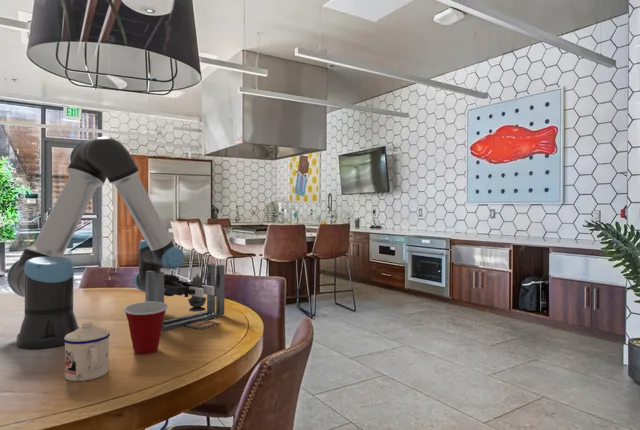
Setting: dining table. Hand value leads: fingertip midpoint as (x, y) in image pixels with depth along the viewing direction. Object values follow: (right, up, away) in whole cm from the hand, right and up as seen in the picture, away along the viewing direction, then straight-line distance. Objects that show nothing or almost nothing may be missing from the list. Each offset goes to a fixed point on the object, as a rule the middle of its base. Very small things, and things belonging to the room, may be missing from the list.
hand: (207, 291), depth 136 cm
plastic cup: (-10, -11, -25) cm, 29 cm away
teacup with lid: (-15, -11, -43) cm, 47 cm away
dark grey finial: (-4, -7, +3) cm, 9 cm away
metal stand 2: (-6, -11, +4) cm, 13 cm away
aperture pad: (-2, -11, 0) cm, 11 cm away
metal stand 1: (-10, -11, +7) cm, 16 cm away
